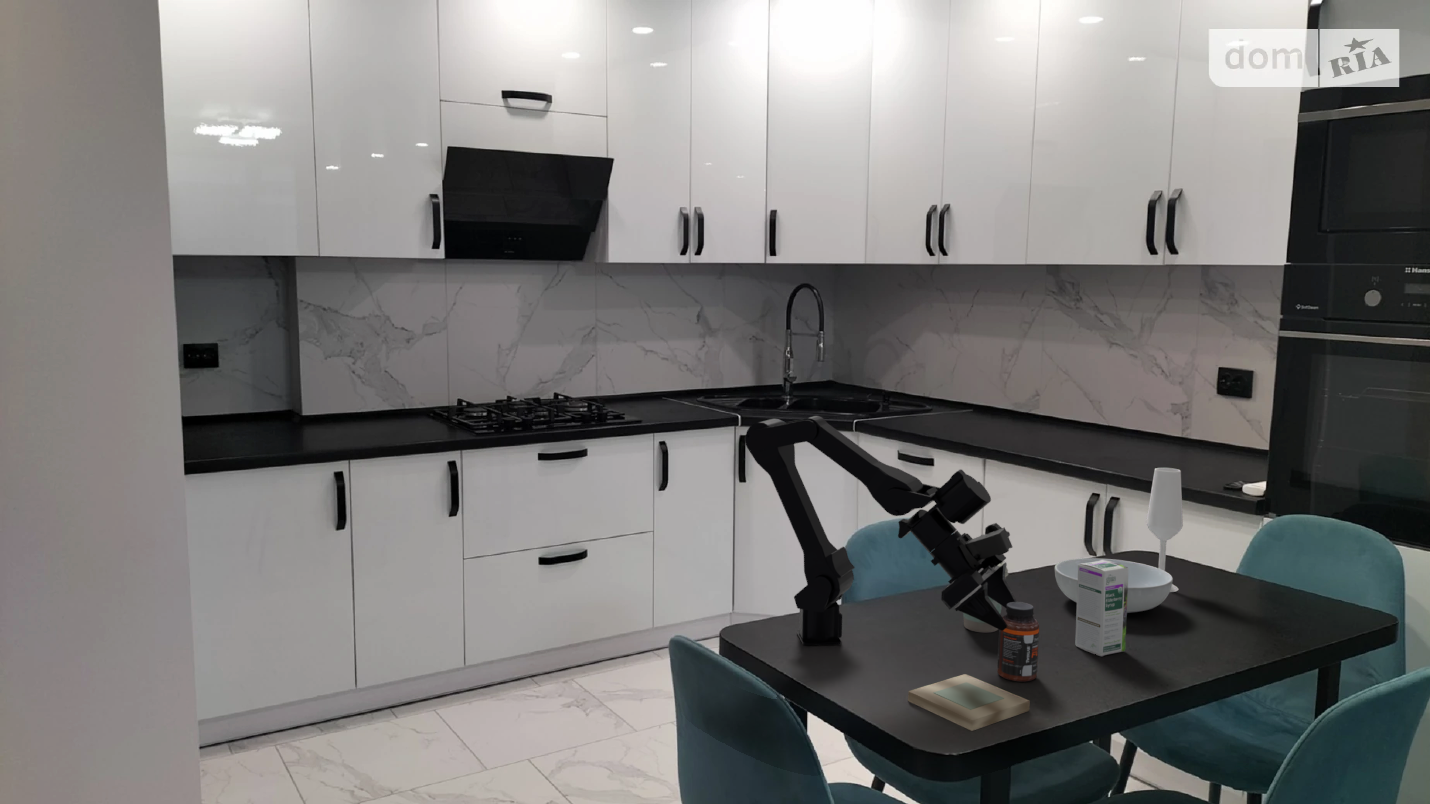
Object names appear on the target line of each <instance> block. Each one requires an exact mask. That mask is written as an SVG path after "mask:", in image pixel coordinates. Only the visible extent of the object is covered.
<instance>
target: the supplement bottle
mask: <svg viewBox="0 0 1430 804" xmlns="http://www.w3.org/2000/svg"><path fill="white" fill-rule="evenodd" d="M1005 612H1006V615H1005V614H1004V615H1003V616H1002V618H1003V620H1004V621H1005V623H1006V624H1007V628H1005V629H1004V630H1003V631H1001V630H999V629H998V640H997V641H998V643H997V645H998V647H997V664H996V665H997V669H996V670H997V673H998V675H999V676H1000V677H1001V678H1003V679H1005V680H1008V681H1011V682H1012V681H1013V682H1017V683H1018V682H1020V683H1022V682H1023V683H1024V682H1025V683H1026V682H1031V681H1033V680H1035V679H1036V678H1037V675H1038V674H1037V673H1038V660H1039V639H1040V638H1039V637H1040V623H1039V622H1038V621H1037V619H1036V618H1034V614H1035V613H1034V606H1033V605H1032V604H1030V603H1027V602H1023V601H1017V602H1010V603H1008V604H1007V608H1005Z"/></svg>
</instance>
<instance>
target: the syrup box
mask: <svg viewBox="0 0 1430 804" xmlns="http://www.w3.org/2000/svg"><path fill="white" fill-rule="evenodd" d="M1128 572H1129V568H1128V567H1126V566H1124V565H1121V564H1118V563H1115V562H1111V561H1106V560H1100V561H1096V562H1089V563H1081V564H1078V582H1077V603H1076V613H1075V615H1076V616H1075V619H1076V620H1075V639H1074V640H1075V643H1074V644H1075V646H1076V647H1077V648H1079V649H1081V650H1084V651H1086V652H1089V653H1091V654H1093V655H1095V654H1096V656H1099V657H1104V656H1107V655H1112V654H1117V653H1123V652H1125V651H1126V645H1127V644H1126V638H1127V637H1126V636H1127V635H1126V634H1127V618H1128V617H1127V615H1128V613H1127V596H1128Z"/></svg>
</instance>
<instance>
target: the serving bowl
mask: <svg viewBox="0 0 1430 804" xmlns="http://www.w3.org/2000/svg"><path fill="white" fill-rule="evenodd" d="M1100 560H1106V561H1111V562H1115V563H1118V564H1121V565H1124V566H1126V567H1128V568H1129V572H1128V596H1127V614H1130V613H1138V612H1143V611H1144V612H1145V611H1148V610H1152V609H1154V608H1157V606H1160V604H1162V603H1163V602H1164V601H1165V600H1166V599H1167V597H1168V596H1169V594H1170V593H1171V592H1170V590H1171V586H1172V584H1173V580H1174V578H1173V576H1172V575H1171V574H1170V573H1169V572H1167V571H1166V570H1165V571H1164V570H1161V569H1159V567H1156V566H1152V565H1148V564H1145V563H1139V562H1134V561H1129V560H1122V559H1115V558H1113V559H1111V558H1095V557H1094V558H1092V557H1091V558H1090V557H1089V558H1083V557H1082V558H1072V559H1068V560H1067V559H1066V560H1062V561H1060V562H1058V563H1056V564H1055V566H1054V576H1055V580H1056V584H1057V586H1058V587H1059V589H1060V591H1061V592H1062V593H1063V595H1065V596H1066V597H1067V598H1068V599H1070V600H1071V601H1072V602H1074V603H1076V604H1077V582H1078V564H1081V563H1089V562H1096V561H1100Z"/></svg>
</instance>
